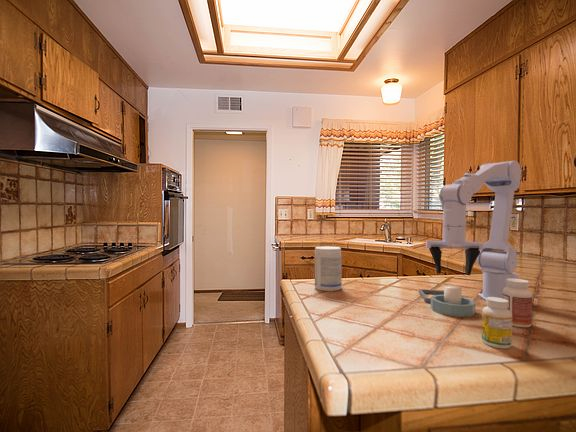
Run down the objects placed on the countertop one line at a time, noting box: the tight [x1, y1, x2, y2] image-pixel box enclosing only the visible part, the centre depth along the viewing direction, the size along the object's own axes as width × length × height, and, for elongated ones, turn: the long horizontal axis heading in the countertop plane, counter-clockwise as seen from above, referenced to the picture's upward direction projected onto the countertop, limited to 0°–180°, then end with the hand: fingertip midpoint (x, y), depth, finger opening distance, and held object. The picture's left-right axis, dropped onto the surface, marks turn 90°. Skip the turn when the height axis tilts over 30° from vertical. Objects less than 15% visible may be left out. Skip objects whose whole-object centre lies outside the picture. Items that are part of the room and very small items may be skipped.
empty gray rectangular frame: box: [418, 288, 464, 304], centre depth 104 cm, size 12×12×1 cm
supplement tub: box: [314, 245, 343, 292], centre depth 115 cm, size 10×10×15 cm
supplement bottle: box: [481, 297, 513, 350], centre depth 69 cm, size 5×5×10 cm
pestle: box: [443, 284, 463, 305], centre depth 91 cm, size 4×4×6 cm
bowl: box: [429, 294, 477, 318], centre depth 91 cm, size 11×11×3 cm
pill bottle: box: [502, 278, 533, 328], centre depth 81 cm, size 6×6×11 cm
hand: (453, 273), depth 91 cm, fingers open, 7 cm apart
